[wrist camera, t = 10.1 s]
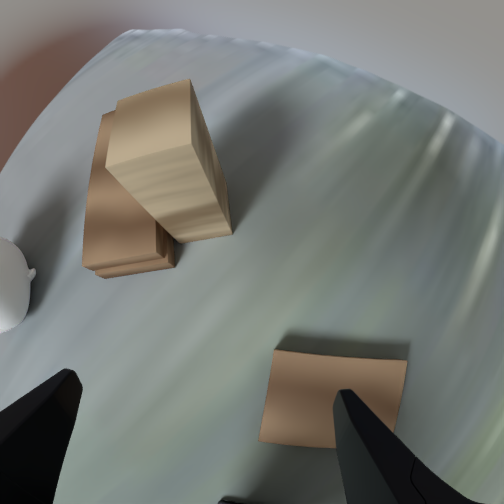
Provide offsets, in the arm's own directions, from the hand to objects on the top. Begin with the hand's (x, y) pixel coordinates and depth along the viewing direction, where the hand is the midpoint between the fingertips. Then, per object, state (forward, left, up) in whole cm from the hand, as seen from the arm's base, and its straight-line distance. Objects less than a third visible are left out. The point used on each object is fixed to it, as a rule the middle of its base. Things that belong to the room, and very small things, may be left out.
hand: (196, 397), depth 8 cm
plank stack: (+14, +13, -13) cm, 23 cm away
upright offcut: (+12, +5, -13) cm, 18 cm away
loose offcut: (-2, -7, -13) cm, 15 cm away
